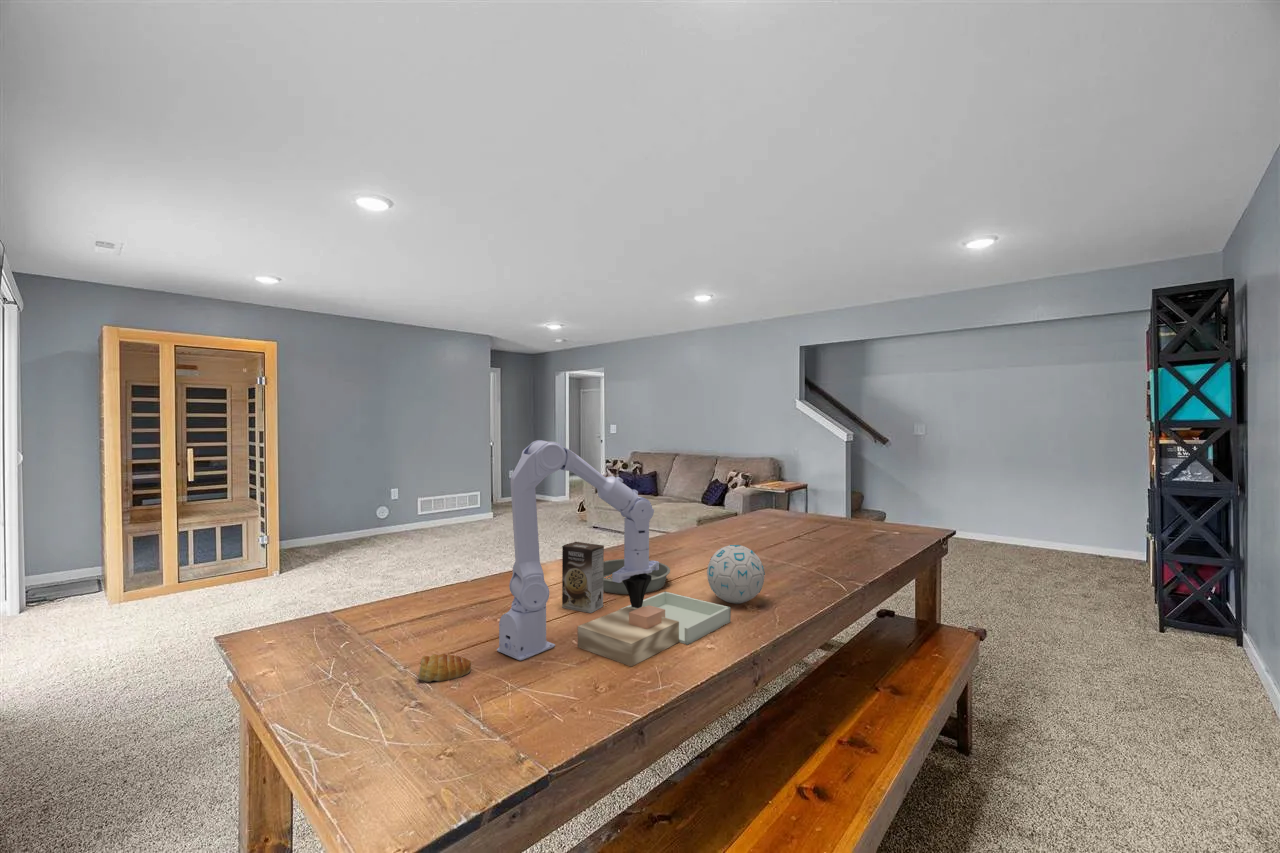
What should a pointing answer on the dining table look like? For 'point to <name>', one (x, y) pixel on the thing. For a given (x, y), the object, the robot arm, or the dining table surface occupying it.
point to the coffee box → (582, 576)
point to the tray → (690, 614)
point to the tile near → (645, 617)
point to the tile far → (658, 609)
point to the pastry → (443, 667)
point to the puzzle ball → (735, 574)
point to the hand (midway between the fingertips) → (636, 606)
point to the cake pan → (613, 587)
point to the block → (626, 637)
